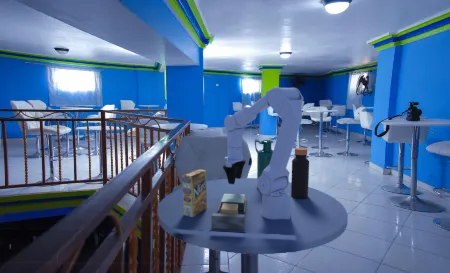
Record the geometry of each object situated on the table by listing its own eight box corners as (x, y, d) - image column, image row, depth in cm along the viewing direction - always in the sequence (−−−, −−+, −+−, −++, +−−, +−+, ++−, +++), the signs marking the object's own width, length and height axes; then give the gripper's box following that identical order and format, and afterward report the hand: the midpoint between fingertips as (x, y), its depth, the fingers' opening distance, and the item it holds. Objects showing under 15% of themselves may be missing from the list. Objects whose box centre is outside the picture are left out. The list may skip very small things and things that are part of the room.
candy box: (193, 220, 96) (192, 176, 94) (182, 217, 99) (181, 174, 96) (207, 211, 104) (206, 170, 102) (197, 209, 106) (197, 168, 104)
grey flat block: (244, 201, 110) (244, 194, 110) (243, 211, 101) (243, 203, 101) (224, 201, 111) (224, 193, 111) (221, 210, 102) (220, 202, 102)
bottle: (309, 199, 116) (311, 150, 113) (292, 199, 116) (294, 150, 113) (305, 193, 123) (307, 147, 120) (289, 193, 123) (290, 147, 120)
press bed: (248, 203, 111) (249, 191, 110) (245, 233, 87) (245, 217, 87) (220, 202, 112) (220, 190, 112) (210, 231, 89) (209, 215, 88)
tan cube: (238, 218, 95) (238, 204, 95) (236, 225, 91) (236, 209, 90) (223, 217, 96) (223, 203, 95) (221, 224, 91) (220, 209, 90)
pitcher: (275, 185, 134) (276, 138, 130) (276, 191, 125) (277, 141, 122) (254, 185, 134) (254, 138, 131) (254, 190, 126) (254, 141, 123)
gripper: (231, 143, 118) (231, 175, 120) (218, 149, 105) (218, 185, 107) (247, 144, 116) (247, 176, 118) (236, 150, 102) (236, 187, 104)
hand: (234, 180), depth 112 cm, fingers open, 7 cm apart
